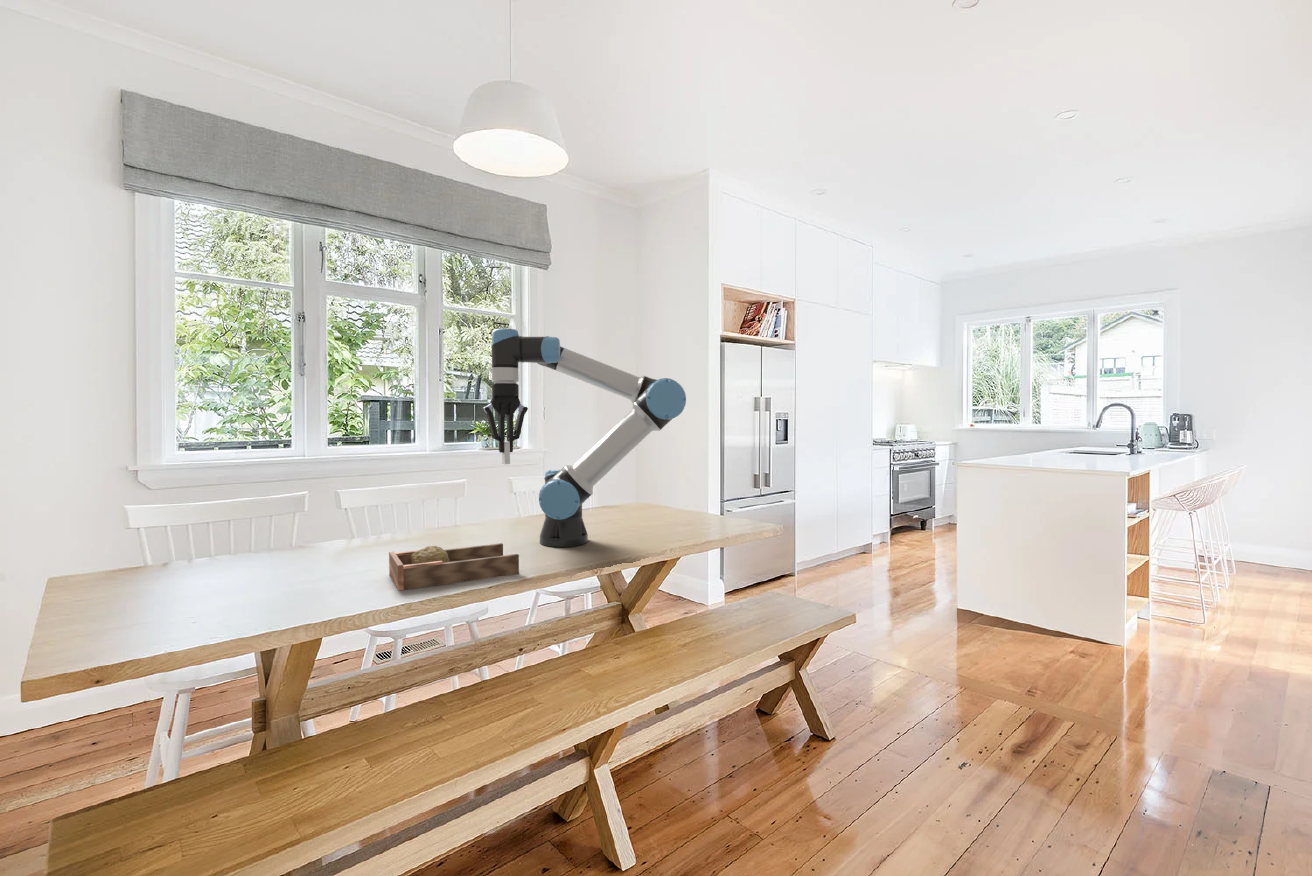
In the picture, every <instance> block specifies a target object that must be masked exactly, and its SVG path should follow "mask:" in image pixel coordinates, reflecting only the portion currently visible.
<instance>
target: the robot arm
mask: <svg viewBox="0 0 1312 876" xmlns="http://www.w3.org/2000/svg"><path fill="white" fill-rule="evenodd" d="M490 345H491V381H492V382H493V383H492V385H491V400H490V403H489V404H487V405H486V406H483V407H482V410H483V411H484V413H485V415H486V419H487V422H488V423H487V424H488V426H489V430H490V435H491V439H493V440H494V441H497V442H498V452H499V453H501V464H503V465H510V464H511V453H513V451H514V441H516V440H519V439H520V435H521V431H522V427H523V423H524V418H525V415H526V413H527V411H528V410H529V409H528V407H527V406H525V405H523V404H521V400H520V399H519V394H520V391H519V390H520V387H519V384H518V382H520V381H519V380H520V377H519V375H520V374H519V363H531V364H532V363H534V364H535V363H536V364H537V365H540V366H542V367H546V368H549V369H550V370H554V371H557V372H559V373H562V374H565V375H567V376H570V377H571V378H575V379H577V380H580V381H583V382H584V383H586V384H590V385H593V386H595V387H598V388H599V389H603V390H605V391H607V392H611V393H613V394H615V395H617V396H621V397H622V398H626V399H628V400H630V402H631V404H632V409H631V410H630V411H629V412H628V413H627V414H626V415H625V416H624V417H623V418H622V419H621V420H620V421H618V423H617V424H616V425H614V426H613V427H612V428H610V430H609V431H608V432H607V433H606V434H605V435H604V436H602V437H601V439H599V440H598V441H597V442H596V443H595V444H594V445H593V446H592V447H590V449H589V450H588V451H586V453H585V454H583V455H582V457H580V458H579V459H578V460H577V461H576V462H575V463H574V464H572V465H564V466H563V467H562V468H561V469H551V470H546V471H545V473H544V485H543V486H542V487H541V489H539V494H538V503H539V507H540V509H541V511H542V512H543V513H544V515H545V516H544V521H543V524H542V528H541V530H540V533H539V544H540V545H542V546H547V547H553V548H554V547H557V548H563V547H565V548H566V547H577V546H581V545H584V544H587V543H588V539H589V537H588V536H589V535H588V531H587V529H586V526H585V523H584V519H583V504H584V503H585V502H586V500H588V499H589V498H590V497H591V496H592V495H593V493H594V492H593V491H594V490H593V489H594V486H596V484H597V483H599V481H601V479H603V478H604V477H605V476H606V475H607V474H608V473H609V472H610V471H611V470H612V469H613V468H614V467H615V466H617V464H618V463H620V461H622V460H624V458H625V457H626V456H628V455H629V453H630V452H631V451H632V450H633V449H635V448H636V447H637V446H638V445H639V444H640V443H641V442H642V441H643V440H644V439H645V438H646V437H648V435H650V434H651V433H652V432H653V431H657V432H658V431H661V430H662V429H663V428H664V427H665V426H667V425H668V424H669V423H670V422H671V421H672V420H673V419H675V418H677V417H679V416H680V415H681V414H682V413H683V411H684V409H685V407H686V404H687V395H686V392H685V389H684V388H683V386H682V384H680V383H679V382H678V381H676V380H674V379H672V378H667V377H663V378H659V379H657V378H656V379H655V378H651V377H649V376H646V375H641V376H637V375H635V374H631V373H629V372H627V371H624V370H622V369H619V368H616V367H613V366H611V365H609V364H606V363H603V362H601V361H598V360H597V359H594V358H591V357H588V356H586V355H583V354H581V353H579V352H576V351H573V350H571V349H568V348H566V347H562V346H561V343H560V338H558V336H557V337H555V336H549V335H546V336H521V335H520V334H519V331H518V330H517V329H515V328H495V329H494V330H492V334H491V343H490ZM493 409H494V410H493ZM493 411H495V412H496V414H497V426H496V420H495V417H494V413H493ZM516 411H518V413H517V417H516V422H515V425H514V417H515V413H516ZM505 420H506V421H505ZM505 422H506V424H505ZM505 427H506V431H505ZM497 428H498V429H497ZM505 434H506V437H505ZM505 439H506V441H505Z"/></svg>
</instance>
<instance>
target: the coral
mask: <svg viewBox="0 0 1312 876" xmlns="http://www.w3.org/2000/svg"><path fill="white" fill-rule="evenodd" d="M445 550H446V549H444V548H442V547H441V546H437V545H431V546H426V547H424V548H421V549H420V550H419V549H418V551H417V550H415V551H416V552H415V553H413V554H412V556H411V557H412V559H411V563H412V564H418V563H426V562H434V561H443V563H446V562H450V560H449V558H448V554H447V553H446V551H445Z"/></svg>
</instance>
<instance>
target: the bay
mask: <svg viewBox="0 0 1312 876" xmlns="http://www.w3.org/2000/svg"><path fill="white" fill-rule="evenodd" d="M418 550H419V549H418ZM418 550H409V551H401V552H395V551H389V552H388V564H389V565H388V568H389V577H390V579H391V581H392V582H393V584H394V586H395V587H396V589H397V591H399V592H400V591H406V590H412V589H414V590H415V589H419V588H427V587H434V586H441V585H447V584H448V585H450V584H456V583H462V582H470V581H478V580H483V579H484V580H485V579H491V578H499V577H505V576H507V577H508V576H513V575H519V574H520V554H518V553H514V554H505V555H504V544H503V542H501V543H493V544H485V545H484V544H483V545H476V546H473V545H472V546H466V547H465V546H464V547H458V548H457V547H456V548H447V549H444V550H445V551H446V553H447V554H448V558H449V560H450V562H446V563H443V561H434V562H426V563H418V564H412V563H411V559H412V557H411V556H412V554H413V553H415V552H416V551H418Z"/></svg>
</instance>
